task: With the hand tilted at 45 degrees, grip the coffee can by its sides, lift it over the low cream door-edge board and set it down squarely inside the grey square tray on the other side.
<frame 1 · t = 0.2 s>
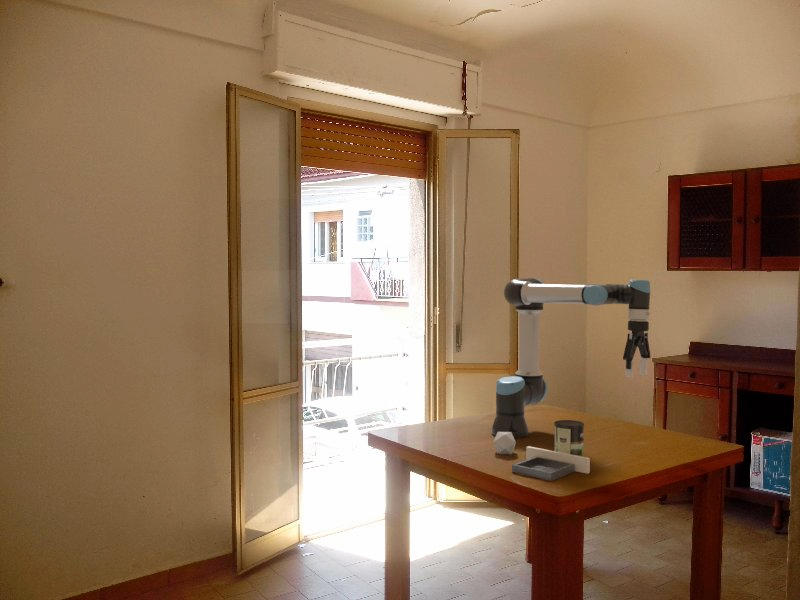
hand: (636, 376, 269), 28 cm above the table, tool pointing down, fingers open, 13 cm apart
die: (504, 453, 265), on the table
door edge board: (556, 466, 246), on the table
grey square tray: (543, 471, 240), on the table
coffee can: (568, 462, 252), on the table
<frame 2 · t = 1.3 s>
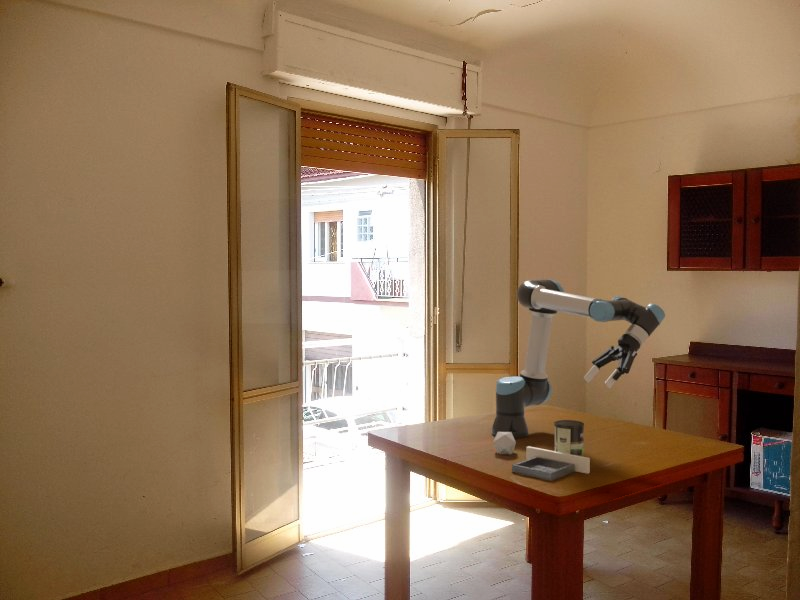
hand: (596, 383, 254), 28 cm above the table, tool tilted 45°, fingers open, 13 cm apart
nothing on the table moved.
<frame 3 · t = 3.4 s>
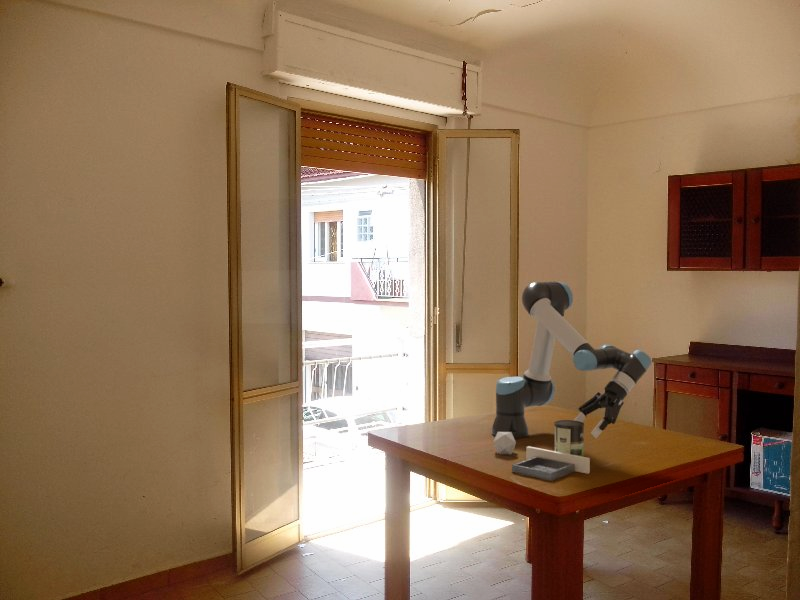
hand: (582, 431, 252), 11 cm above the table, tool tilted 45°, fingers open, 13 cm apart
nothing on the table moved.
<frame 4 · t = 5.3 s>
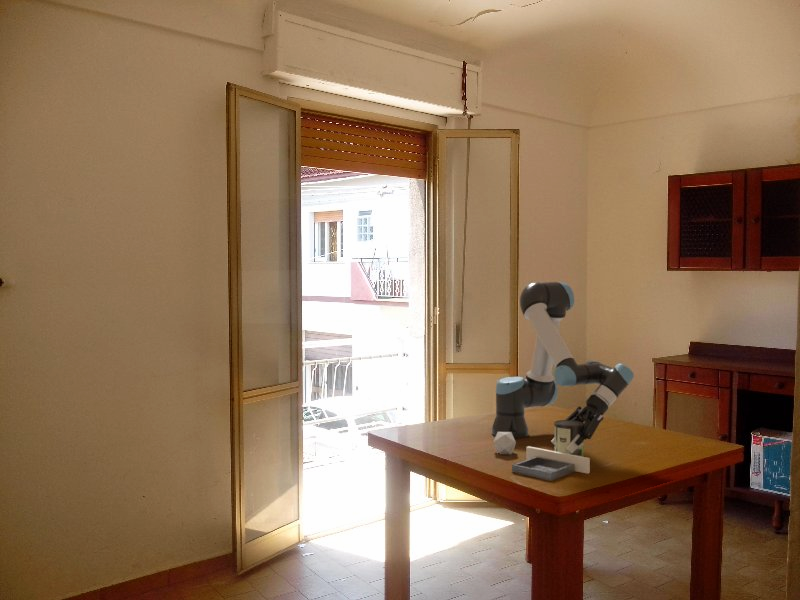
hand: (561, 447, 251), 6 cm above the table, tool tilted 45°, fingers closed on coffee can, 10 cm apart
coffee can: (568, 462, 252), on the table, touching gripper
everything else where it was.
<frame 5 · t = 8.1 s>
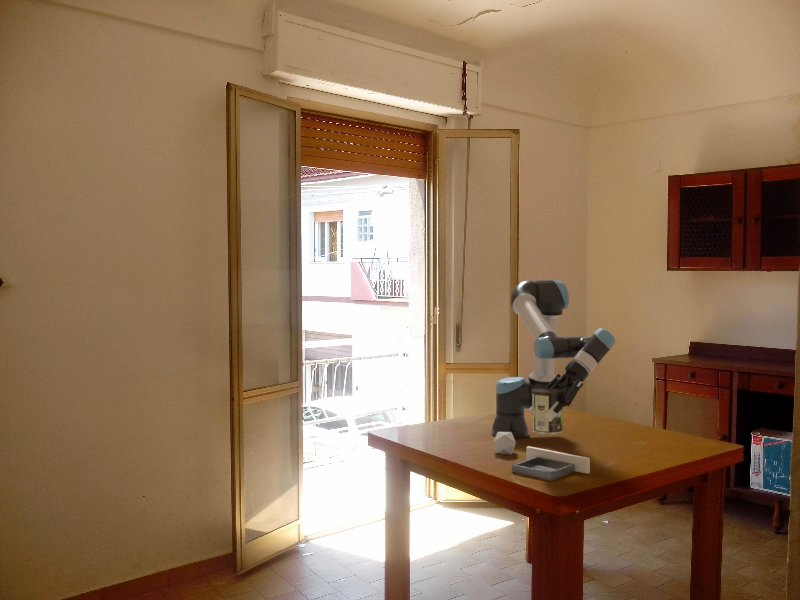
hand: (539, 415, 238), 19 cm above the table, tool tilted 45°, fingers closed on coffee can, 10 cm apart
coffee can: (547, 432, 240), point 13 cm above the table, touching gripper
everything else where it was.
when the fingers open (7 cm above the table, at t = 11.0 s): coffee can drops 1 cm, resting on grey square tray.
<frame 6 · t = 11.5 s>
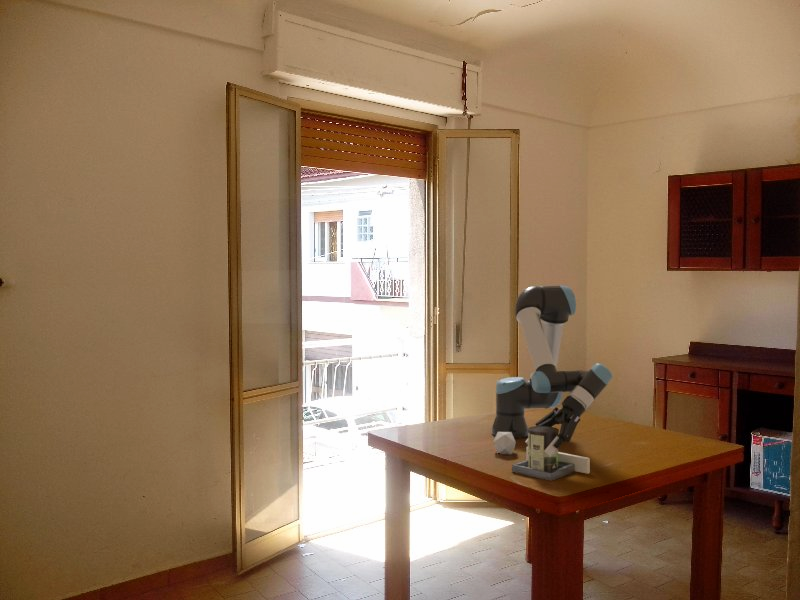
hand: (537, 449, 239), 8 cm above the table, tool tilted 45°, fingers open, 13 cm apart
coffee can: (543, 470, 240), resting on grey square tray
everything else where it was.
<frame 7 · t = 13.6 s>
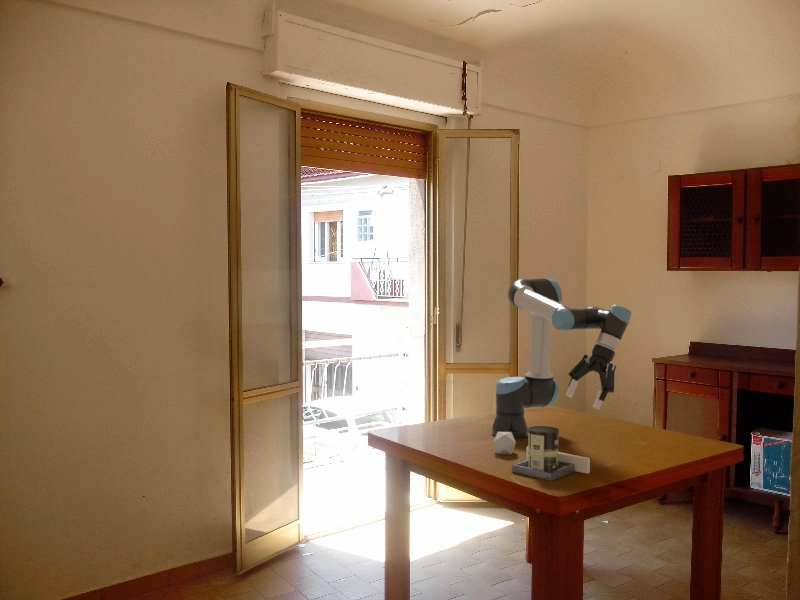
hand: (581, 402, 250), 21 cm above the table, tool tilted 25°, fingers open, 13 cm apart
nothing on the table moved.
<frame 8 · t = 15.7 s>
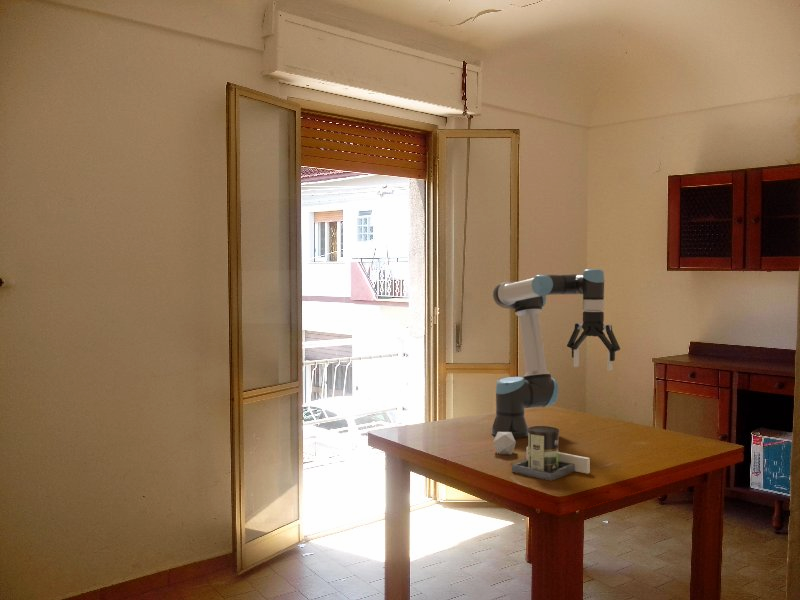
hand: (592, 368, 263), 32 cm above the table, tool pointing down, fingers open, 13 cm apart
nothing on the table moved.
at the end: coffee can inside the target area on the grey square tray (0.3 cm from its centre), point 0.2 cm above the grey square tray's base; coffee can tilted 0°; the gripper is holding nothing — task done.
